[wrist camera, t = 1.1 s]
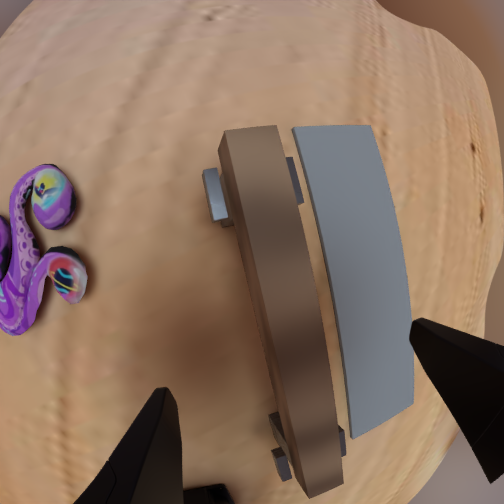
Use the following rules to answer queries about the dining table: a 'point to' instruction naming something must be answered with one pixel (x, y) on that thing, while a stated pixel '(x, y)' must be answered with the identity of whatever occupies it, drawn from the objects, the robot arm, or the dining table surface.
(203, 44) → the dining table surface
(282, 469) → the dark brown blocks
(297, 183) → the grey block
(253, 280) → the rail
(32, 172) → the decorative sculpture
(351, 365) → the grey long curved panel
